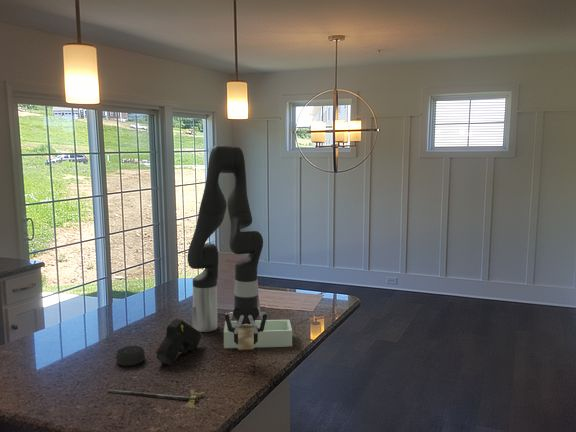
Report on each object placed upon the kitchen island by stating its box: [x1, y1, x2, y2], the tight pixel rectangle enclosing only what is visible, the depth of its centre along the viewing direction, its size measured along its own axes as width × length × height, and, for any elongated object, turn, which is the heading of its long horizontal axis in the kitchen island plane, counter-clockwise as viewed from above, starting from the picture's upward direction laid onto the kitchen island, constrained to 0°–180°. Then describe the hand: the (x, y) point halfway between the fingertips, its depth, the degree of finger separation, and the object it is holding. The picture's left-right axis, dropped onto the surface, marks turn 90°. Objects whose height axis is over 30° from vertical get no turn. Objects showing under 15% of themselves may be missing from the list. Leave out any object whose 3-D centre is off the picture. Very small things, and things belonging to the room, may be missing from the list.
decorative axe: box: [107, 388, 206, 409], centre depth 144 cm, size 30×2×10 cm
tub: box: [223, 319, 293, 349], centre depth 186 cm, size 24×12×6 cm, turn 95°
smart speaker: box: [115, 345, 146, 367], centre depth 167 cm, size 9×9×4 cm
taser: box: [155, 318, 203, 366], centre depth 172 cm, size 4×18×15 cm
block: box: [237, 324, 255, 350], centre depth 166 cm, size 5×5×7 cm
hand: (245, 343), depth 166 cm, fingers closed on block, 5 cm apart
